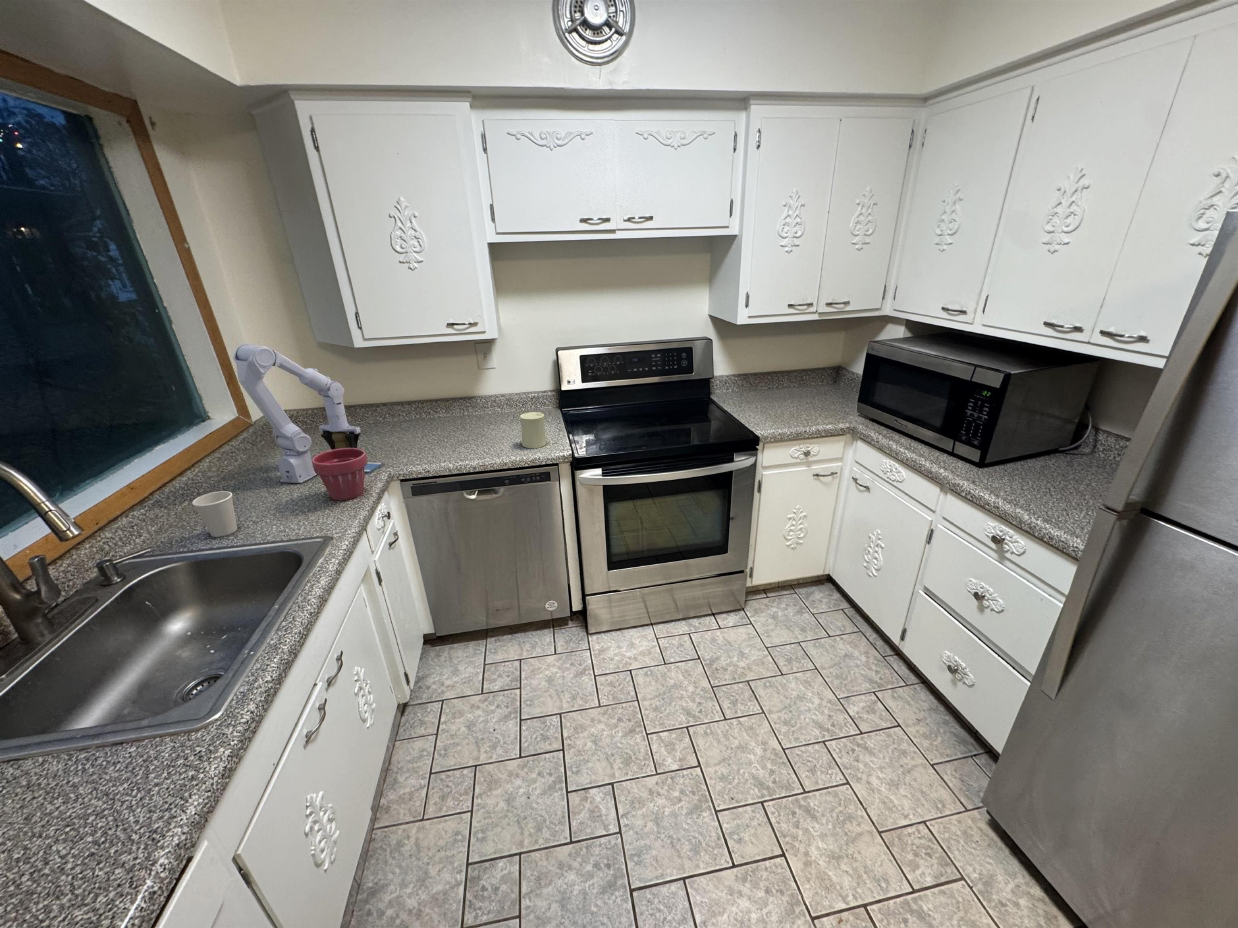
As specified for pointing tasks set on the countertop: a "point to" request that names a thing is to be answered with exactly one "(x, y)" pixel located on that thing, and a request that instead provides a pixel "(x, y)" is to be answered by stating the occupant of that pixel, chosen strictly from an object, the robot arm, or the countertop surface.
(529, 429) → the can
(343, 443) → the cork
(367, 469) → the towel
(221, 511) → the dixie cup
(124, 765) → the countertop surface
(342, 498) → the flower pot
